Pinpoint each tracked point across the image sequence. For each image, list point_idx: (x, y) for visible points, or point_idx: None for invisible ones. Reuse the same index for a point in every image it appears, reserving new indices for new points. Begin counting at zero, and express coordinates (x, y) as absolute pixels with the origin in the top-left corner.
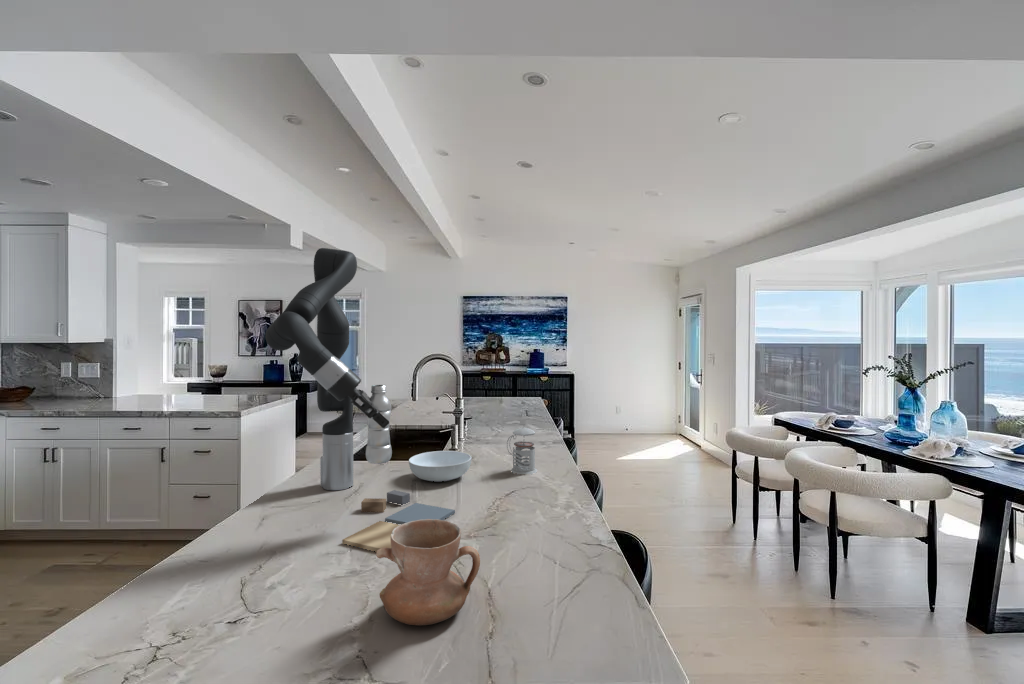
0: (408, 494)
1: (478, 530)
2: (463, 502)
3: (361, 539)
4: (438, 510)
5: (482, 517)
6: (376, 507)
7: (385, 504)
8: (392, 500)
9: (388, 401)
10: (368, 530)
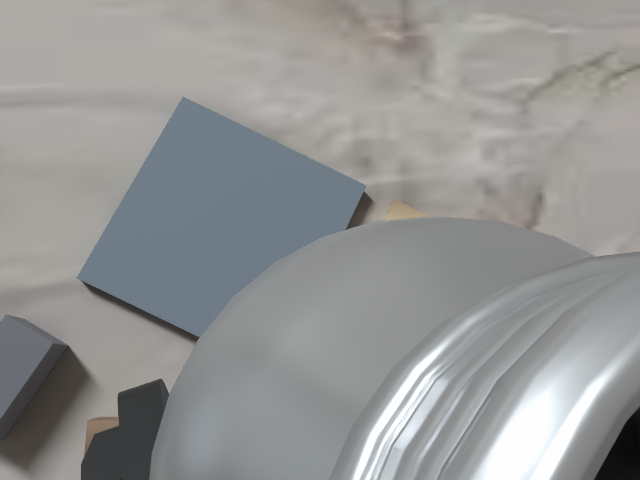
0: (15, 319)
1: (356, 16)
2: (42, 78)
3: None
4: (186, 162)
5: (230, 3)
6: None
7: (107, 418)
8: (21, 404)
9: (518, 236)
10: None
